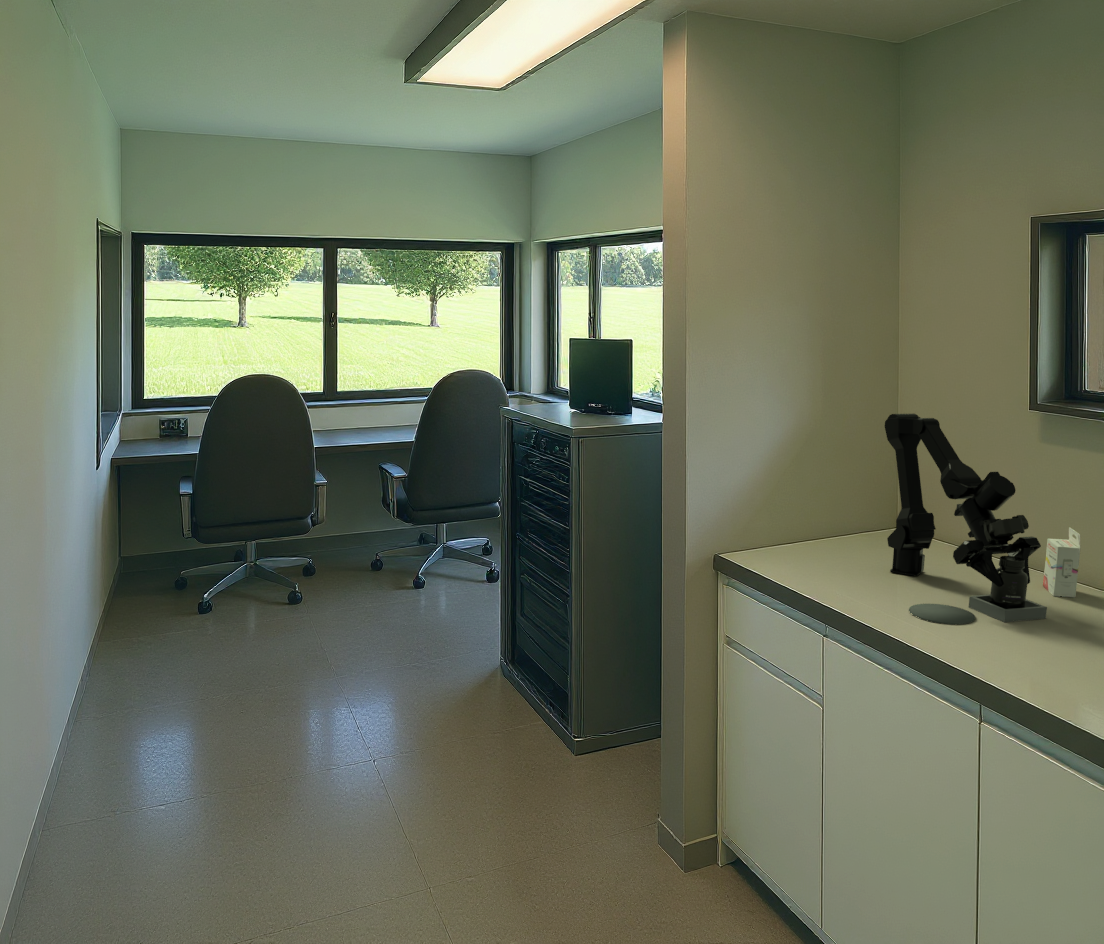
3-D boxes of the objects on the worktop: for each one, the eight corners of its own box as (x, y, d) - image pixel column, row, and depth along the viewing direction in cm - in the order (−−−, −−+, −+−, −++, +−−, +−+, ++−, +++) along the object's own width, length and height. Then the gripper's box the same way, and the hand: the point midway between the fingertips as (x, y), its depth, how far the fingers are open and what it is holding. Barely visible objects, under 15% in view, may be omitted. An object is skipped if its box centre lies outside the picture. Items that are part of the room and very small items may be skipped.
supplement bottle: (1009, 619, 198) (1015, 563, 196) (981, 610, 204) (986, 556, 202) (1031, 615, 201) (1037, 560, 200) (1003, 606, 207) (1008, 552, 205)
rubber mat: (901, 616, 199) (901, 614, 199) (917, 601, 210) (917, 600, 210) (967, 628, 192) (968, 626, 192) (980, 612, 203) (980, 611, 202)
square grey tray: (968, 607, 206) (969, 596, 206) (1008, 603, 209) (1009, 592, 209) (1004, 622, 196) (1005, 610, 196) (1045, 618, 199) (1047, 607, 199)
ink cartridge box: (1041, 586, 224) (1047, 525, 222) (1064, 587, 223) (1070, 526, 221) (1052, 596, 216) (1059, 533, 213) (1076, 598, 215) (1083, 534, 212)
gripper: (967, 503, 200) (1000, 568, 192) (1038, 500, 205) (1074, 562, 197) (938, 531, 209) (969, 594, 200) (1008, 527, 214) (1041, 588, 206)
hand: (1014, 584), depth 201 cm, fingers closed on supplement bottle, 7 cm apart
